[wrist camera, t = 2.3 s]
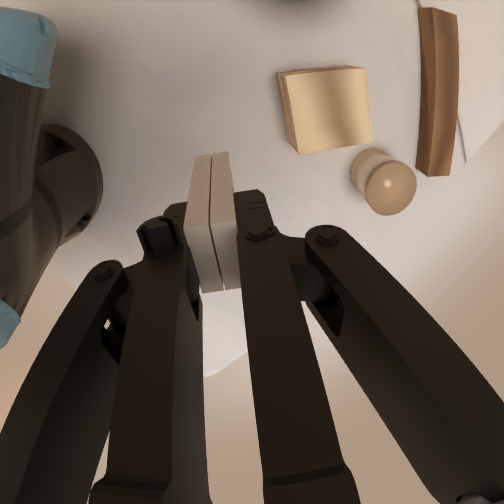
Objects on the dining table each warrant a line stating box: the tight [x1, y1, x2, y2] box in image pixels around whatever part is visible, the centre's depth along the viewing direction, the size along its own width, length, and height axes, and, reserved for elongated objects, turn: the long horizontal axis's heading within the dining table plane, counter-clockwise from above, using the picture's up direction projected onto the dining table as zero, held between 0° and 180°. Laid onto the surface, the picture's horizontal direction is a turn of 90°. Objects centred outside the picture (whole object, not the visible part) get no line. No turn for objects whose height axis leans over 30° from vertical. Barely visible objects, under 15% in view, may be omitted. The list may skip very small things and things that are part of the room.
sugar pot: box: [350, 148, 417, 216], centre depth 33 cm, size 7×7×6 cm
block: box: [276, 65, 372, 155], centre depth 28 cm, size 8×8×5 cm
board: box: [416, 7, 459, 177], centre depth 27 cm, size 4×22×3 cm, turn 6°
